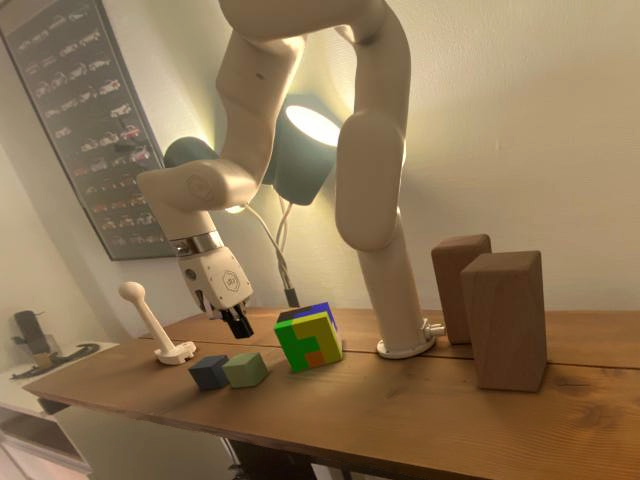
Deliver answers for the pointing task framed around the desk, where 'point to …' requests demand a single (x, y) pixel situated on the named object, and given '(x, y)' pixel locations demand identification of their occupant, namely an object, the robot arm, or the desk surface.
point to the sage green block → (245, 370)
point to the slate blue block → (210, 372)
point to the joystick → (156, 327)
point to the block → (456, 279)
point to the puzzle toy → (309, 336)
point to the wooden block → (506, 319)
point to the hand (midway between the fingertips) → (245, 336)
